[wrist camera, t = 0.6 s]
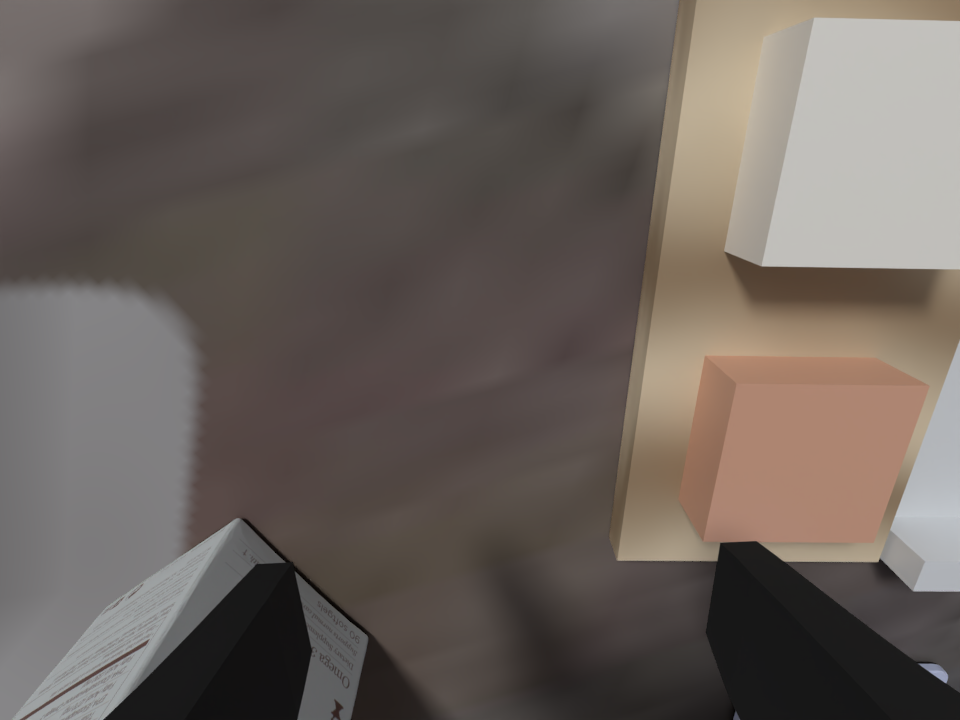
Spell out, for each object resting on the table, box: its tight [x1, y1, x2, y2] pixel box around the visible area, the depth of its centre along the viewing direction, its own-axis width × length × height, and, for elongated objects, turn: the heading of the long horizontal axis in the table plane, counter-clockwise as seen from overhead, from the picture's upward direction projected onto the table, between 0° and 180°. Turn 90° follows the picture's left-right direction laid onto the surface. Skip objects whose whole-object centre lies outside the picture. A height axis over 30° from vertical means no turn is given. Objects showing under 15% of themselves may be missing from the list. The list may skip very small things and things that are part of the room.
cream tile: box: [724, 18, 960, 269], centre depth 13 cm, size 5×5×2 cm
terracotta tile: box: [678, 355, 930, 543], centre depth 16 cm, size 5×5×2 cm
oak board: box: [609, 0, 960, 562], centre depth 16 cm, size 18×9×1 cm, turn 179°
